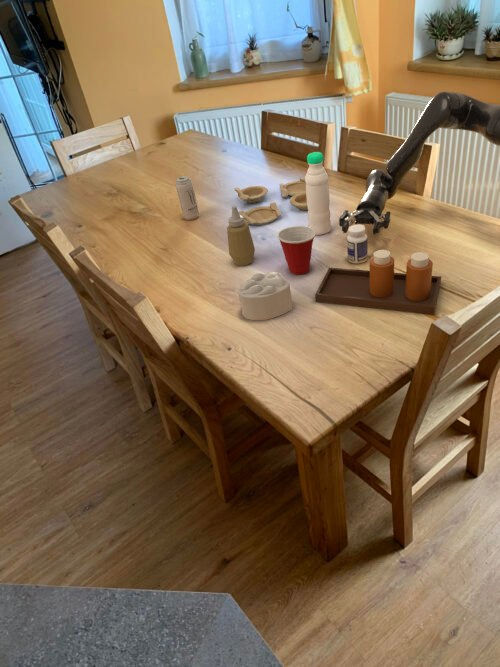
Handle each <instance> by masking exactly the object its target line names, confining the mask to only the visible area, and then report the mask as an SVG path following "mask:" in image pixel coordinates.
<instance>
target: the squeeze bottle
mask: <svg viewBox="0 0 500 667" xmlns="http://www.w3.org/2000/svg"><path fill="white" fill-rule="evenodd" d="M226 232H227V233H226V234H227V242H228V243H227V244H228V254H229V256H230V258H231V260H232V261H233V263H234V265H237V266H247V265H249V264H251V263H252V262H253V261H254V257H255V251H256V247H255V244H254V241H253V237H252V233H251V229H250V225H249V224H248V223H246V222H245V221H244V217H243V216H241V215H239V211H238V208H237V206H236V205H233V206H231V216H230V217H229V218H228V225H227V226H226Z"/></svg>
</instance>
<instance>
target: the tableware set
mask: <svg viewBox="0 0 500 667" xmlns="http://www.w3.org/2000/svg"><path fill="white" fill-rule="evenodd" d="M279 190H280V193H281V199H285V198H287V197H288V196H289V197H290V196H291V197H290V199H289V203H290V204H291V205H292V206H293V207H296V208H297V209H298V210H301V211H308V206H307V197H306V182H305V177H300V178H299V180H294V181H290V182H287V183H285V184H284V183H279ZM234 192H236V193H237V197H238V198H239V199H240V201H245V203H247V204H253V203H254V204H256V203H258V202H261V201H262V200H263V199H264V197H265V196H266V195H268V192H269V188H267V187H266V186H262V185H250V186H246V187H244V188H242V189H240V187H238V186H237V187H234ZM238 212H239V215H241V216H243V217H244V221H245V222H246V223H247V224H248V225H253V226H255V225H258V226H259V225H266V224H269V223H272V222H274V221H276V220H277V219H279V218H281V217H282V213H281V210H280V208H279V207H278V204H277V202H276V201H271V202H270V203H269V205H263V206H257V207H256V206H255V207H253V208H250V209H248V210H247V211H244V210H240V211H238Z"/></svg>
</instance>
